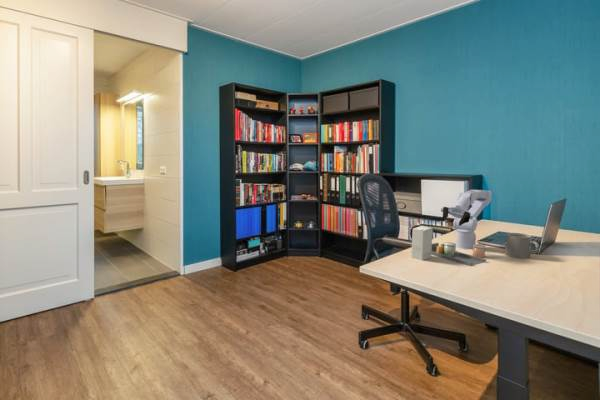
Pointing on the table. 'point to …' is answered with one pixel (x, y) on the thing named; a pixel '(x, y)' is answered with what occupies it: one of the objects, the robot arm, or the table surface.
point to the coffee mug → (520, 245)
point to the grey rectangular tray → (458, 257)
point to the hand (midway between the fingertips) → (451, 221)
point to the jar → (479, 250)
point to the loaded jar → (449, 249)
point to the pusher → (440, 249)
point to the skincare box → (421, 243)
